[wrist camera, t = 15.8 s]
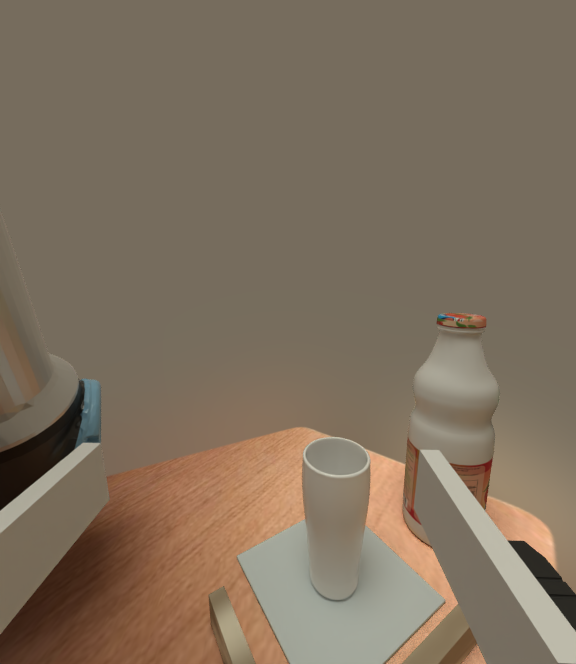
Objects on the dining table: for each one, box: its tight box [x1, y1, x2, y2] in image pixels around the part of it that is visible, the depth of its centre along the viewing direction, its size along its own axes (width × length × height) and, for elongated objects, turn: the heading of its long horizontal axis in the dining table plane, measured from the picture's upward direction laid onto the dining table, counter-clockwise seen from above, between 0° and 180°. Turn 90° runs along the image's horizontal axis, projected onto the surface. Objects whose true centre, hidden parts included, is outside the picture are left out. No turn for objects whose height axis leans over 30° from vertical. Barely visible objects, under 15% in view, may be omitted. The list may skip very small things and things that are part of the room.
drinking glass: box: [302, 437, 370, 600], centre depth 31 cm, size 7×7×15 cm
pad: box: [237, 519, 445, 664], centre depth 33 cm, size 16×16×1 cm
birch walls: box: [209, 586, 477, 664], centre depth 29 cm, size 14×24×4 cm, turn 122°
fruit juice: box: [403, 313, 500, 546], centre depth 37 cm, size 9×9×28 cm
